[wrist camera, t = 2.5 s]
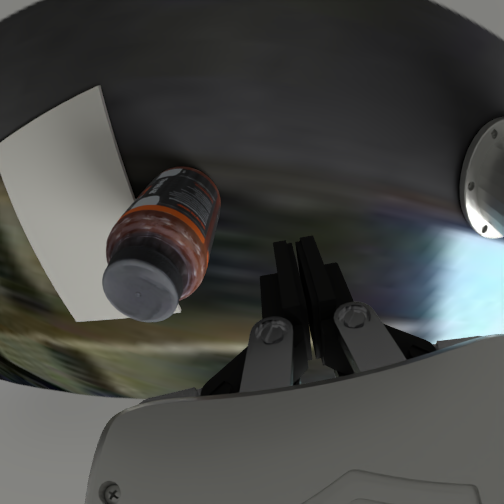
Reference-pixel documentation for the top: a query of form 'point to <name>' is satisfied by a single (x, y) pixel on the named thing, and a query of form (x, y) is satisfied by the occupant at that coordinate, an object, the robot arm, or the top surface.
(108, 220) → the mat
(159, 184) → the supplement bottle
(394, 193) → the top surface
